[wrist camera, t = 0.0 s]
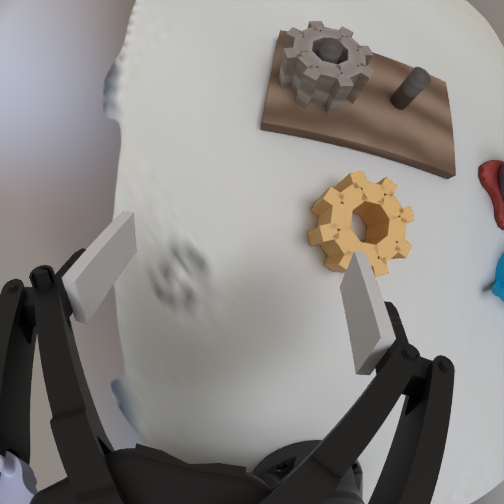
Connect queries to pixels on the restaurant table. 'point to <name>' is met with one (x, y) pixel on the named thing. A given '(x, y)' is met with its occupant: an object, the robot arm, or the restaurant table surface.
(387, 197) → the ochre gear
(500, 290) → the mug
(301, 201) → the restaurant table surface
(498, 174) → the stacking bear
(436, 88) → the gear board
